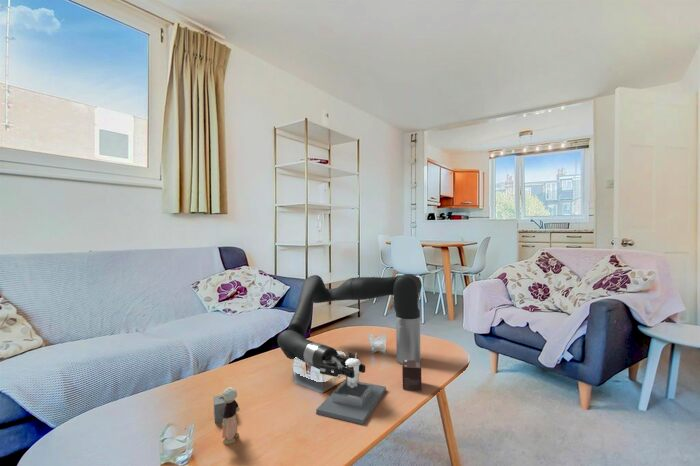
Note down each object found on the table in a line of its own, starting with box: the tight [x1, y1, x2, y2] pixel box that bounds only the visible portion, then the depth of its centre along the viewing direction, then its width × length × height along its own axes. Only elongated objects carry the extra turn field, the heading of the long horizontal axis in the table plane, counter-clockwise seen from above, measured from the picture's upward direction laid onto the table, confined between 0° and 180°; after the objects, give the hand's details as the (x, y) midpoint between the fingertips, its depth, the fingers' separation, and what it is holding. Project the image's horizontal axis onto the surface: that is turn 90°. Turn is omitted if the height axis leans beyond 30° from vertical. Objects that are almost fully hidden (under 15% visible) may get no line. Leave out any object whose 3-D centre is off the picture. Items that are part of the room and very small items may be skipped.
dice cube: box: [213, 394, 227, 424], centre depth 92 cm, size 5×5×5 cm
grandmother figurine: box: [221, 386, 241, 445], centre depth 81 cm, size 8×4×13 cm, turn 5°
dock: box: [315, 379, 387, 426], centre depth 99 cm, size 20×14×4 cm
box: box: [401, 360, 423, 391], centre depth 108 cm, size 6×6×7 cm
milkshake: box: [345, 352, 362, 392], centre depth 99 cm, size 5×5×10 cm
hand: (359, 371), depth 97 cm, fingers closed on milkshake, 4 cm apart
